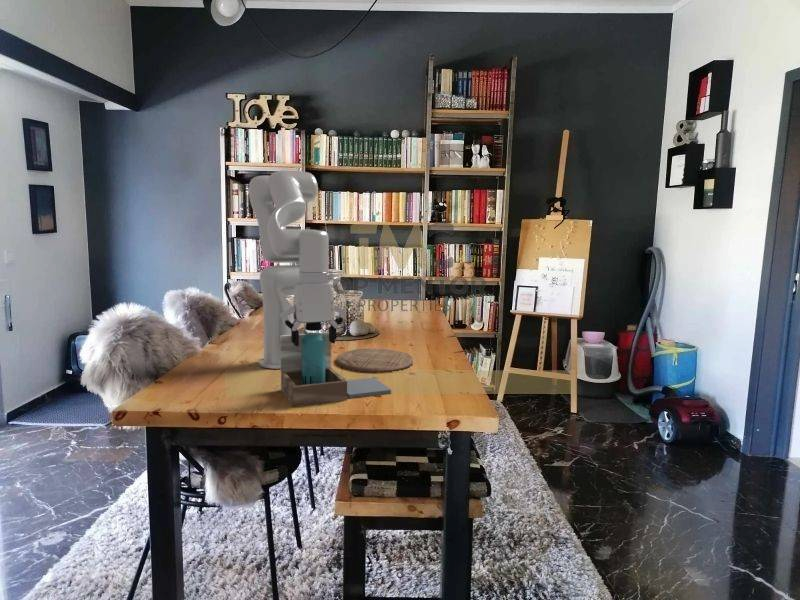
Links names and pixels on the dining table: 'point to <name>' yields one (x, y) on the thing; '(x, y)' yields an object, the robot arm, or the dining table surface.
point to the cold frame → (293, 377)
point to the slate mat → (366, 388)
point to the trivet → (374, 360)
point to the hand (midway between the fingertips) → (314, 343)
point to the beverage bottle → (313, 355)
